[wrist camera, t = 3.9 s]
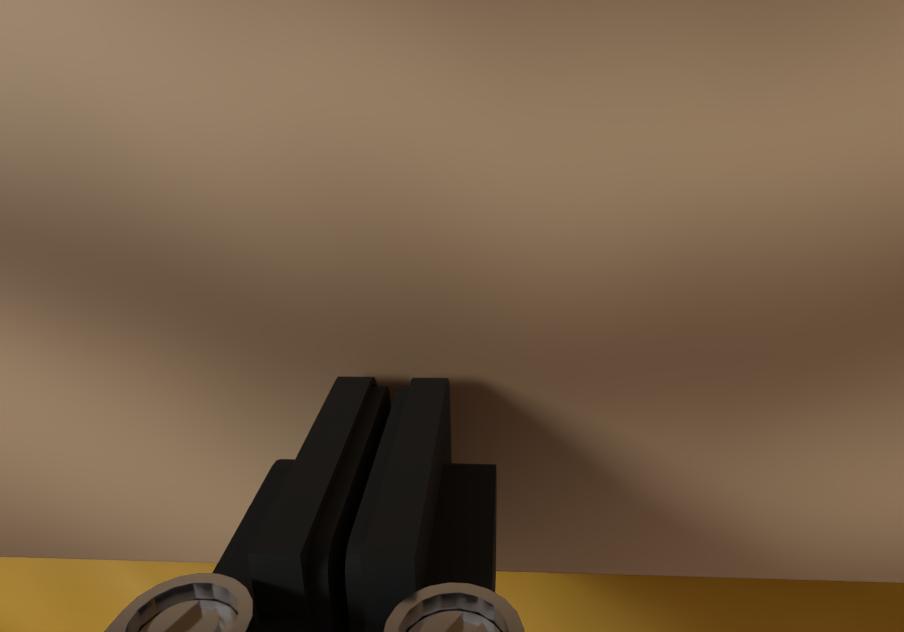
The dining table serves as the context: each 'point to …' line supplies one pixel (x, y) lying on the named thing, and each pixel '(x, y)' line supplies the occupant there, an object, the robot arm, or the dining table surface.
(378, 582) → the robot arm
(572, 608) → the dining table surface
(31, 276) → the plank
